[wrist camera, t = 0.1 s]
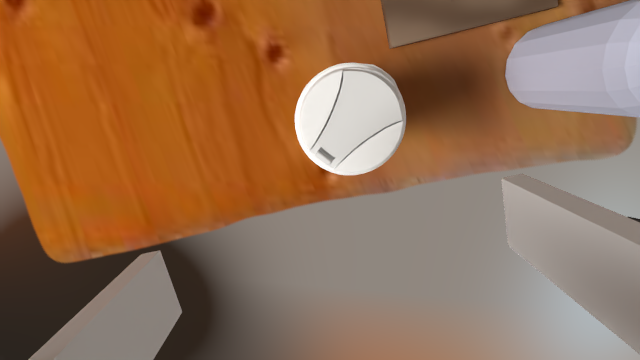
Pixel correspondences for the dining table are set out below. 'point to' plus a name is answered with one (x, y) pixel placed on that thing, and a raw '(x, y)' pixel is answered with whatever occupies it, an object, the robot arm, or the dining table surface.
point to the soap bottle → (581, 63)
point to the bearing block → (449, 16)
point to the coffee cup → (350, 118)
